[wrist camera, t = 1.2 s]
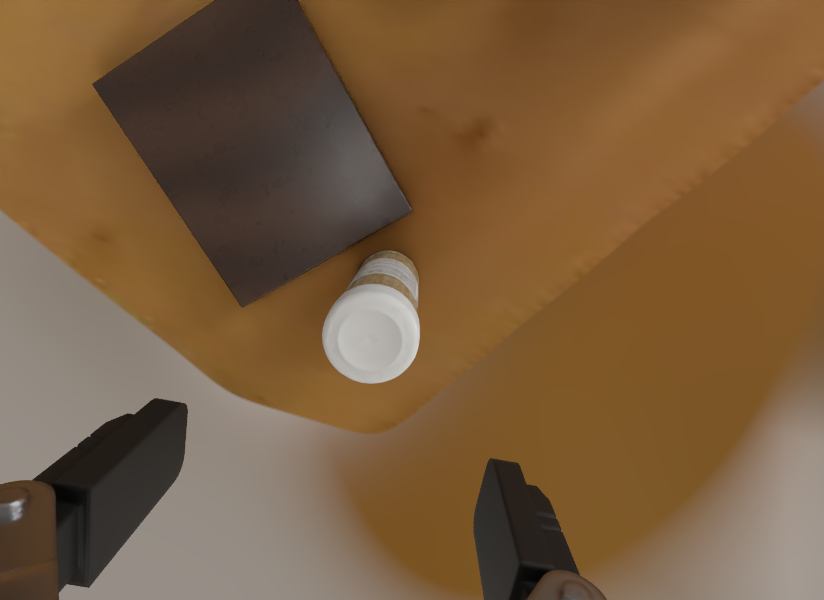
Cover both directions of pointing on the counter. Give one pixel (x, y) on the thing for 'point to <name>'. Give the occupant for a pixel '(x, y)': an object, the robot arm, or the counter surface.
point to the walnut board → (254, 142)
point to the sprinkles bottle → (375, 320)
